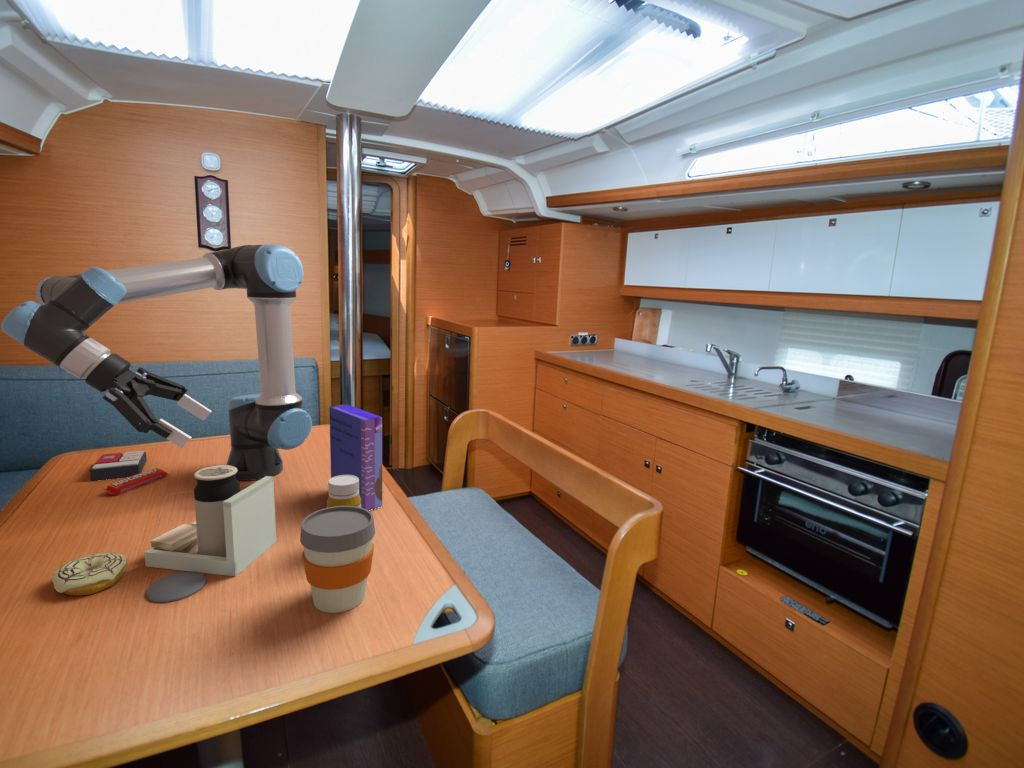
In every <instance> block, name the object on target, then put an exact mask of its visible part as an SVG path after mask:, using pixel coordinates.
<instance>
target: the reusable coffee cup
mask: <svg viewBox="0 0 1024 768" xmlns="http://www.w3.org/2000/svg"><path fill="white" fill-rule="evenodd" d="M300 526H301V528H300V536H299V540H300V544H301V545H302V547H303V551H302V554H301V555H302V556H301V557H302V562H303V566H304V567H303V568H304V573H305V576H306V577H305V578H306V582H307V583H308V584H309V585H310V590H311V596H312V602H313V603H312V604H313V606H314V607H315V608H316V609H317V610H319V611H321V612H324V613H327V614H328V613H330V614H332V613H333V614H335V613H336V614H337V613H338V614H339V613H344V612H347V611H350V610H353V609H354V608H357V607H358V606H359V605H361V603H362V602H363V601H364V600H365V598H366V594H367V586H368V579H369V578H368V577H369V575H370V574H371V571H372V566H373V556H374V549H375V546H374V543H373V538H374V537H375V534H376V526H375V521H374V514H373V513H372V511H368V510H366V509H364V508H361V507H355V506H335V507H329V508H327V507H326V508H325V507H324V508H322V509H317V510H316V511H313V512H312V513H310V514H308V515H307V516H305V518H303V520H302V521H301V525H300Z"/></svg>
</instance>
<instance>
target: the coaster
mask: <svg viewBox="0 0 1024 768" xmlns="http://www.w3.org/2000/svg"><path fill="white" fill-rule="evenodd" d="M205 585H206V576H205V575H204V573H200V572H191V571H181V572H177V573H172V574H169V575H166V576H164V577H162V578H159V579H157V580H156V581H154V582H153V583H151V584H150V585H149V587H148V588H147V589H146V598H147V600H149V601H150V602H151V601H152V602H154V603H171V602H176V601H181V600H183V599H184V600H185V599H186V598H189V597H190V596H193V595H195V594H197V593H199V591H201V590H202V589H203V588H204V587H205Z"/></svg>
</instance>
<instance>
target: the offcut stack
mask: <svg viewBox="0 0 1024 768" xmlns="http://www.w3.org/2000/svg"><path fill="white" fill-rule="evenodd" d="M150 546H151V548H152V549H153V550H162V551H171V552H181V553H190V554H195V553H196V552H197V551H198V540H197V527H196V526H191V524H186V523H185V524H184V523H183V524H180V525H179V526H177V527H175V528H172V529H170V530H169V531H167V532H165V533H163V534H161V535H159V536H156V537H155V538H153V539H151V540H150Z"/></svg>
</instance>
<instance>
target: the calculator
mask: <svg viewBox="0 0 1024 768" xmlns="http://www.w3.org/2000/svg"><path fill="white" fill-rule="evenodd" d="M147 460H148V459H147V451H144V450H139V451H138V450H136V451H125V452H124V453H123V452H114V453H103V454H102V455H101V456H100V457H99V458H98V459H97V461H96V462H94V464H93V465H92V467H91V468H90V469H89V473H90V474H89V475H90V476H89V477H90V482H91V481H93V482H98V480H102V481H108V479H110V480H117V478H119V479H125V478H127V477H131V476H134V475H137V474H139V473H142V472H143V469H144V467H145V465H146V463H147ZM106 479H107V480H106Z"/></svg>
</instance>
